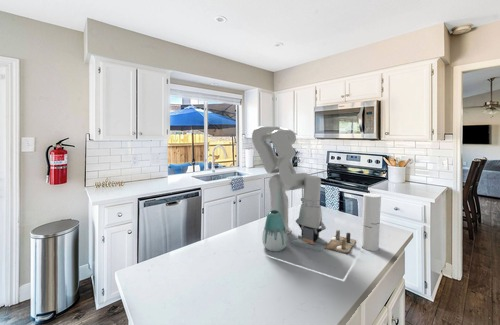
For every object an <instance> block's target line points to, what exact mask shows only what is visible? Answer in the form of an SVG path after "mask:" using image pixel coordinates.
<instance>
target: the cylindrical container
mask: <svg viewBox="0 0 500 325" xmlns="http://www.w3.org/2000/svg"><path fill="white" fill-rule="evenodd" d="M381 202H382V195H381V194H380V193H379V194H378V193H374V192H373V193H372V192H371V193H370V192H367V193H363V203H362V220H361V221H362V224H361V226H362V227H361V230H362V231H361V244H360V245H361V248H362V249H364V250H365V251H369V252H370V251H371V252H376V251H378V250H379V246H380V245H379V244H380V225H381V224H380V221H381V204H382V203H381Z"/></svg>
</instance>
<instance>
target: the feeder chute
mask: <svg viewBox="0 0 500 325" xmlns="http://www.w3.org/2000/svg"><path fill="white" fill-rule="evenodd" d="M302 239H303V238H302V235H300V234H298V235H297V239H296V240H294V239H293V240H291V244H293V245H295V246H299V247H303V248H306V249H309V250H314V251H318V252H322V251H323V250H324V249H325V246H326V245H327V244H328V241H324V240H321V239H318V240H316V241H315V242H314V243H313V244H310V243H306V242H303V241H302Z"/></svg>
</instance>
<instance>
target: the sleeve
mask: <svg viewBox="0 0 500 325" xmlns="http://www.w3.org/2000/svg"><path fill="white" fill-rule="evenodd" d="M314 233H315V231H314V228H310V227H307V226H304V227H303V239H302V241H303V242H306V243H310V244H313V243H314V241H313V239H314Z"/></svg>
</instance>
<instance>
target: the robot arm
mask: <svg viewBox="0 0 500 325" xmlns="http://www.w3.org/2000/svg"><path fill="white" fill-rule="evenodd" d="M296 140H297V136H296V133H295V132H294V131H293V130H291V129H289V128H284V127H281V126H275V125H274V126H267V125H265V126H264V125H263V126H258V127H255V128H254V129H253V131H252V133H251V141H252V143H253V147H254V148H255V150H256V151H257V154H258V156H259V158H260V160H261V163H262V165H263V167H264V170H265V171H266V173H267V174H269V175H272V176H271V177H270V178H269V180H268V188H269V194H270V195H269V196H270V211H271V210H278V211H279V212H280V213H281V215H282V217H283V221H284V225H285V228H286V233H287V235H289V234H291V233H292V229H291V228H290V227H289V198H288V195H287V193H286V192H288V191H289V192H290V191H296V190H301V189H303V195H302V196H303V197H300V201H301V202H302V203H301V204H300V208H299V213H298V218H297V219H296V220H295V223H296V224H297V225H298V227H299V228H300V230H301V235H300V236H302V238H303V227H304V226H307V227H310V228H314V231H315V233H314V239H313V241H314V242H315V241H316V240H319V238H318V233H319V234H320V233H321V232H322V231H325V230H326V229H327V227H326V225H325V224H324V222H323V210H322V206H321V205H320V204H321V188H322V186H321V185H322V179H321V177H319V176H317V175H311V174H309V173H308V172H297V171H296V169H295V167H294V166H293V162H292V161H291V160H292V159H293V158H294V157H296V154H297V153H296V151H295V149H294V147H293V144H295V143H296ZM267 142H271V143H272V145H273V147H272V146H271V144H269V143H267ZM275 151H276V153H275ZM276 154H277V155H276Z"/></svg>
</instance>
